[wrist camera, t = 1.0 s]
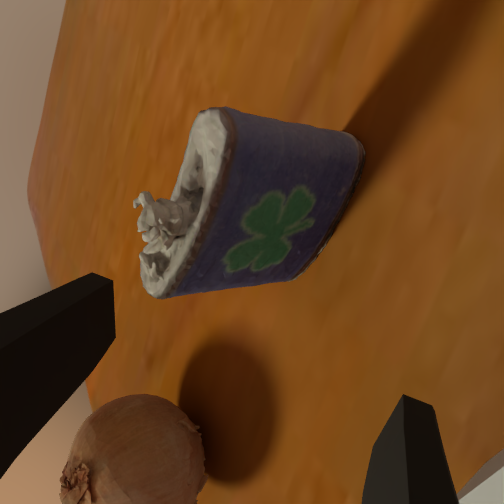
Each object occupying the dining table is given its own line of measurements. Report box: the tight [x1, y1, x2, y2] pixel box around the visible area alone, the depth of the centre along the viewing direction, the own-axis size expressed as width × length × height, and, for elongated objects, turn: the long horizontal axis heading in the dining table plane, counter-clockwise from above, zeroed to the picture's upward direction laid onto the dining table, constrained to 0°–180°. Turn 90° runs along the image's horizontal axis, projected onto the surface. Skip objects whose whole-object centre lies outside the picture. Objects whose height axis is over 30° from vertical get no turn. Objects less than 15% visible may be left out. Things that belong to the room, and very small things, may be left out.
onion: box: [59, 394, 208, 504], centre depth 30 cm, size 10×9×10 cm
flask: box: [134, 107, 365, 299], centre depth 20 cm, size 9×3×11 cm, turn 146°
